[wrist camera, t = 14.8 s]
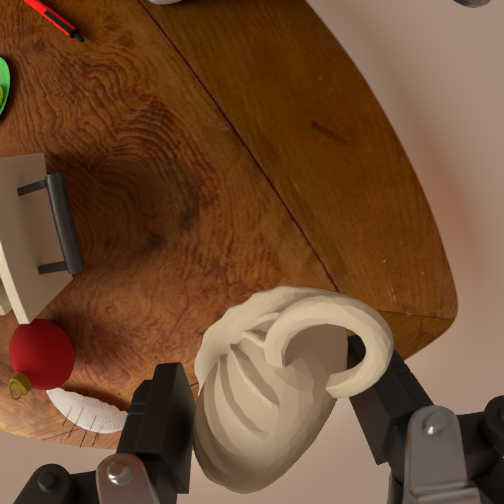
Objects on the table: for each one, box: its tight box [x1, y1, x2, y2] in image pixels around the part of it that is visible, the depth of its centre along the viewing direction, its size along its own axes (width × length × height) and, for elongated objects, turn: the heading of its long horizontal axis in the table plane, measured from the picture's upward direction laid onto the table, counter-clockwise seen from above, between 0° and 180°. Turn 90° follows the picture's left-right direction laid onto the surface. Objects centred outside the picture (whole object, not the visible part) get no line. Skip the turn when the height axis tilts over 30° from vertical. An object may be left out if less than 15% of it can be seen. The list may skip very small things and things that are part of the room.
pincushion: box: [46, 388, 128, 447], centre depth 28 cm, size 12×6×6 cm, turn 76°
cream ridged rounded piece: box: [192, 285, 394, 494], centre depth 8 cm, size 4×8×5 cm, turn 154°
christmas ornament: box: [8, 319, 74, 400], centre depth 23 cm, size 7×7×10 cm
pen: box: [24, 0, 84, 42], centre depth 15 cm, size 1×19×1 cm, turn 45°
